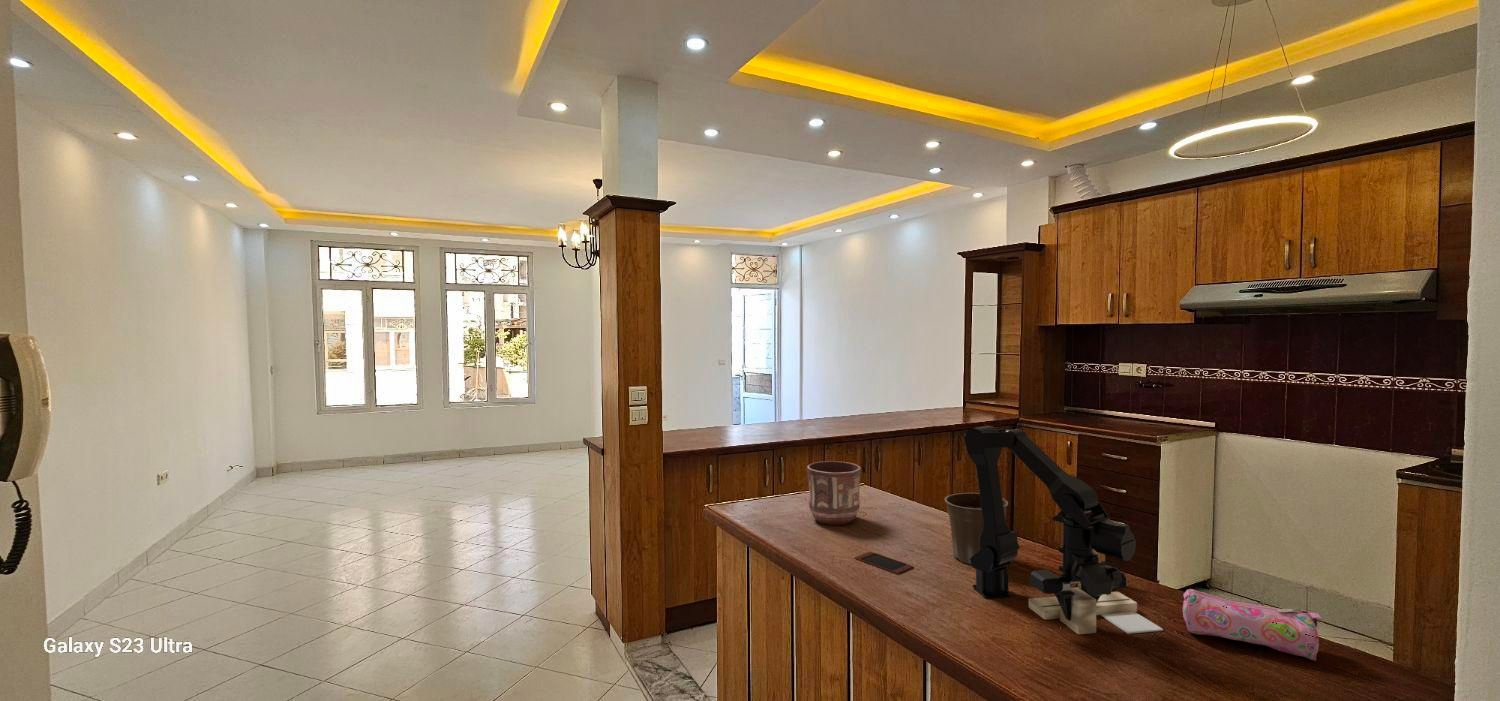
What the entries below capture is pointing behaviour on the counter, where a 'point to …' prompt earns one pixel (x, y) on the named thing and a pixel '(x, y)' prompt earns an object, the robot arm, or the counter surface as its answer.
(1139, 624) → the grey end pad
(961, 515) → the plant pot
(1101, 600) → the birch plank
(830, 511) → the pottery
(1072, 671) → the counter surface
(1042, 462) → the robot arm
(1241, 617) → the pencil case
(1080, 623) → the maple block
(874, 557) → the smartphone
